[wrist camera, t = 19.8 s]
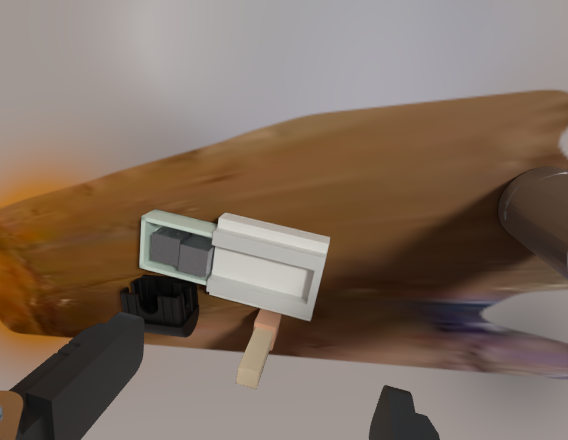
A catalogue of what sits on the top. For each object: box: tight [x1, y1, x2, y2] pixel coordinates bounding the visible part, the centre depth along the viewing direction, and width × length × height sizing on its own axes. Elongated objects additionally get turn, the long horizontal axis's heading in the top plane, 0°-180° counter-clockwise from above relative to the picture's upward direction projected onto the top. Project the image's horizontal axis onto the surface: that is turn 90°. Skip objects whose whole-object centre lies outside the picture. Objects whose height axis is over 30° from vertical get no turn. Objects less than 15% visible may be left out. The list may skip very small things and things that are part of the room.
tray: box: [139, 209, 218, 286], centre depth 49 cm, size 10×8×4 cm
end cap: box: [120, 275, 199, 337], centre depth 51 cm, size 10×7×7 cm
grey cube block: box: [178, 234, 215, 278], centre depth 48 cm, size 4×4×4 cm
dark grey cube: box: [151, 226, 193, 266], centre depth 48 cm, size 4×4×4 cm
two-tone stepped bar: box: [236, 308, 282, 389], centre depth 47 cm, size 3×4×12 cm
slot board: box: [206, 213, 330, 321], centre depth 47 cm, size 15×12×4 cm
